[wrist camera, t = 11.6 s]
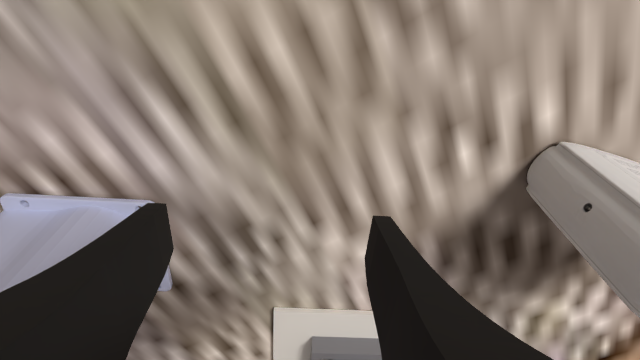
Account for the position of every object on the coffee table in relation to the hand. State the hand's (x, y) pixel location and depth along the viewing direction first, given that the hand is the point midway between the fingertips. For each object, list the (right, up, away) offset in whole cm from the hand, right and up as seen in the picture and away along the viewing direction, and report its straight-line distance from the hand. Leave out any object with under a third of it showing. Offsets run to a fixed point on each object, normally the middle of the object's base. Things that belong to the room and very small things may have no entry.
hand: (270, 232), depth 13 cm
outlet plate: (+4, -15, +20) cm, 25 cm away
